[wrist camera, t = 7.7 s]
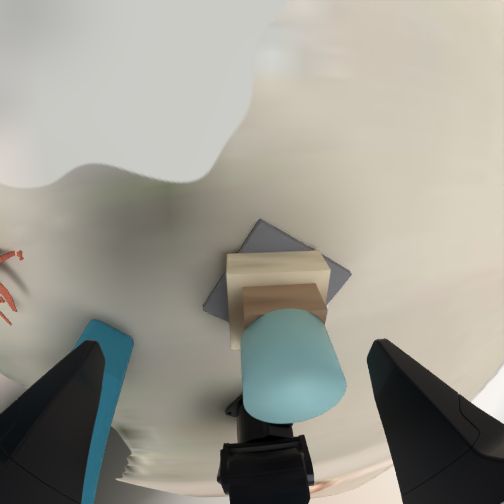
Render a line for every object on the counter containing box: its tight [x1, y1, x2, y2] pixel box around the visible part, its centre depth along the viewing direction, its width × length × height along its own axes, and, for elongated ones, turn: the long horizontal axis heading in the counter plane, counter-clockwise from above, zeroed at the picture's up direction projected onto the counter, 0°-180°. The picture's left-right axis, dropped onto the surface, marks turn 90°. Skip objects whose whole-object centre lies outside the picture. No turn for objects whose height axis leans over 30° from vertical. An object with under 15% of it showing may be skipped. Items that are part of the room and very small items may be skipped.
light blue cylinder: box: [240, 308, 346, 424], centre depth 16 cm, size 6×6×4 cm
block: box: [72, 320, 134, 504], centre depth 17 cm, size 12×5×20 cm, turn 147°
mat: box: [203, 219, 352, 322], centre depth 24 cm, size 9×9×1 cm
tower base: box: [226, 251, 331, 350], centre depth 22 cm, size 7×7×3 cm
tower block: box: [242, 283, 327, 331], centre depth 19 cm, size 5×5×3 cm
